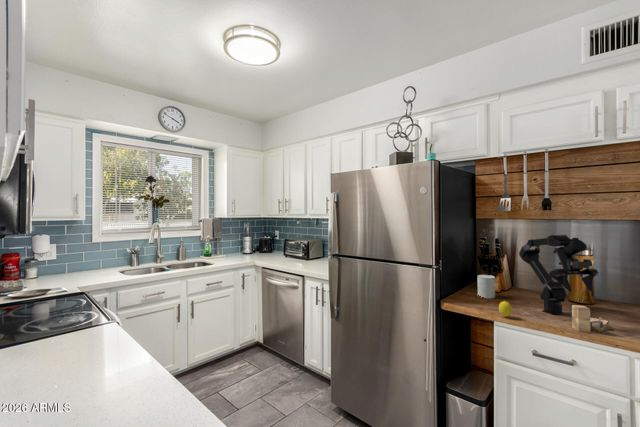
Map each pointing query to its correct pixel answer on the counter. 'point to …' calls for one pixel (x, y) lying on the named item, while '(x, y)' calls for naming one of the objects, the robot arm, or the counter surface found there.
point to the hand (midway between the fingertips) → (580, 291)
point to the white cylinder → (486, 286)
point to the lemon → (505, 308)
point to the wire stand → (599, 325)
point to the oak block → (581, 318)
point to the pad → (598, 320)
